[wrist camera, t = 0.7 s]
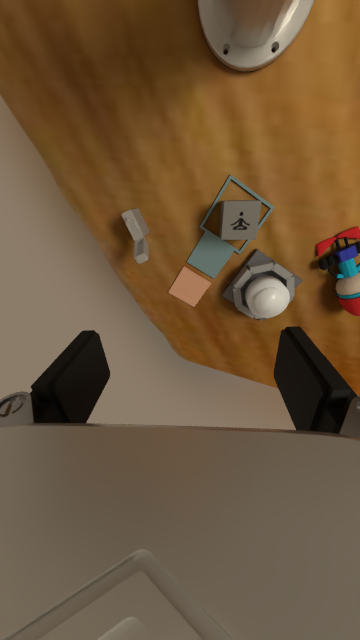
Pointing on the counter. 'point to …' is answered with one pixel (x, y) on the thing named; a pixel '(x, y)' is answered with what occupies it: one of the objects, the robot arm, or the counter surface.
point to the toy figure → (344, 269)
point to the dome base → (253, 270)
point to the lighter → (137, 233)
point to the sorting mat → (208, 257)
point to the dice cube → (239, 219)
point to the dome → (267, 296)
